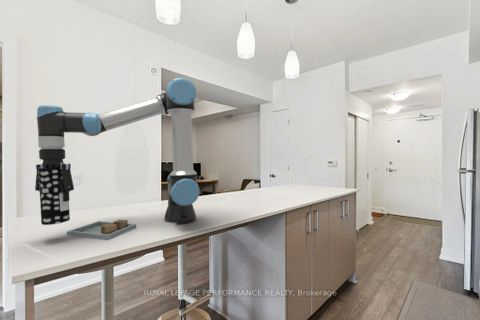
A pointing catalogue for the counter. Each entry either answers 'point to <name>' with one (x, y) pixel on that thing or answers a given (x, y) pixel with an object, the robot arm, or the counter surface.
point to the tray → (98, 231)
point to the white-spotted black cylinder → (51, 197)
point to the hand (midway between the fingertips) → (55, 209)
